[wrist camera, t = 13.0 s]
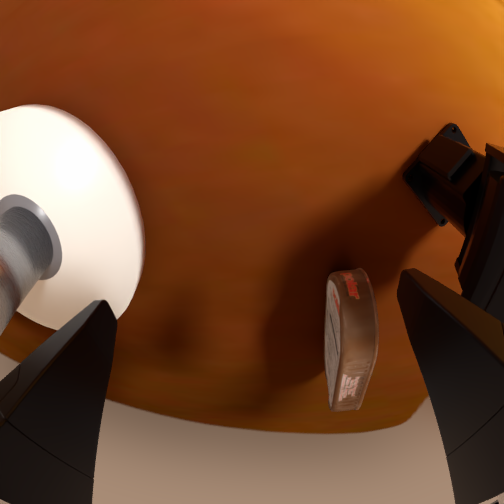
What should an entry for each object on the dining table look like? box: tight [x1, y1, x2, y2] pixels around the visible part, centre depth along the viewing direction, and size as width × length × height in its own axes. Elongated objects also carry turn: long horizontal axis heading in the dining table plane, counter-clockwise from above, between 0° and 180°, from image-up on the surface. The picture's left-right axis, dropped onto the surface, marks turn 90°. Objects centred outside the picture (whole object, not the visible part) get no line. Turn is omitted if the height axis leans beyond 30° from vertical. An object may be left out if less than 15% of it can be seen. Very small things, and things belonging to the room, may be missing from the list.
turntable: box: [0, 104, 146, 330], centre depth 19 cm, size 21×21×2 cm
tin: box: [324, 268, 379, 411], centre depth 23 cm, size 15×3×8 cm, turn 8°
